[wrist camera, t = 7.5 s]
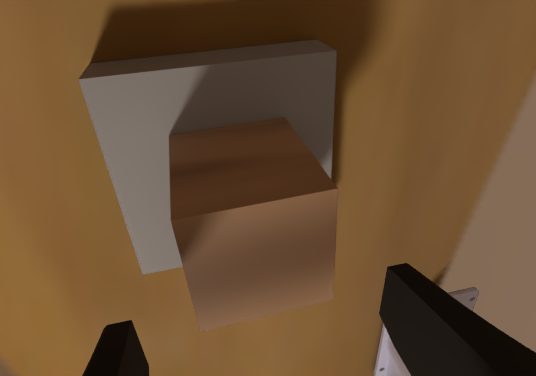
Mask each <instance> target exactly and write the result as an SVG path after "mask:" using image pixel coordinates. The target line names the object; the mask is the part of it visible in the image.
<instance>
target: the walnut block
mask: <svg viewBox="0 0 536 376" xmlns="http://www.w3.org/2000/svg"><path fill="white" fill-rule="evenodd" d="M169 170H170V213H171V224H172V228H173V231H174V235H175V239H176V243H177V246H178V250H179V254H180V258H181V261H182V265H183V269H184V273H185V276H186V280H187V284H188V288H189V291H190V295H191V299H192V303H193V306H194V310H195V314H196V318H197V321H198V325H199V329H200V332H203V331H207V330H212V329H216V328H220V327H224V326H228V325H232V324H236V323H240V322H245V321H249V320H253V319H257V318H261V317H265V316H269V315H274V314H278V313H282V312H286V311H290V310H294V309H298V308H302V307H307V306H311V305H315V304H319V303H323V302H327V301H331V300H334V276H335V251H336V225H337V200H338V188H337V187H336V185H335V184H334V183H333V181H332V180H331V178H330V177H329V176H328V174H327V173H326V172H325V170H324V169H323V168H322V166H321V165H320V164H319V162H318V161H317V160H316V158H315V157H314V156H313V154H312V153H311V152H310V150H309V149H308V148H307V146H306V145H305V144H304V142H303V141H302V139H301V138H300V137H299V135H298V134H297V133H296V131H295V130H294V129H293V127H292V126H291V125H290V123H289V122H288V121H287V119H286V118H285V117H284V118H277V119H271V120H264V121H258V122H252V123H245V124H239V125H233V126H226V127H220V128H213V129H207V130H201V131H194V132H188V133H182V134H175V135H169Z"/></svg>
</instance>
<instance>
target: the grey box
mask: <svg viewBox="0 0 536 376" xmlns="http://www.w3.org/2000/svg"><path fill="white" fill-rule="evenodd" d="M336 61H337V50H335V49H333V48H332V47H330V46H328V45H326V44H325V43H323V42H321V41H319V40H318V39H316V40H306V41H297V42H287V43H278V44H268V45H259V46H249V47H240V48H231V49H221V50H212V51H202V52H193V53H183V54H174V55H164V56H155V57H145V58H136V59H126V60H117V61H108V62H98V63H90V64H89V65H88V67H87V68H86V69H85V71H84V72H83V74H82V75H81V76H80V78H79V79H78V80H79V83H80V86H81V89H82V92H83V95H84V98H85V101H86V104H87V107H88V110H89V113H90V116H91V119H92V122H93V125H94V128H95V131H96V134H97V137H98V140H99V144H100V147H101V150H102V153H103V156H104V159H105V162H106V165H107V168H108V171H109V174H110V177H111V180H112V183H113V186H114V189H115V192H116V195H117V198H118V201H119V204H120V207H121V210H122V213H123V216H124V219H125V222H126V225H127V228H128V231H129V234H130V237H131V241H132V244H133V247H134V250H135V253H136V256H137V259H138V262H139V265H140V268H141V271H142V274H148V273H153V272H158V271H163V270H169V269H174V268H179V267H183V265H182V261H181V258H180V254H179V250H178V246H177V243H176V239H175V235H174V231H173V228H172V224H171V213H170V170H169V135H175V134H182V133H188V132H194V131H201V130H207V129H213V128H220V127H226V126H233V125H239V124H245V123H252V122H258V121H264V120H271V119H277V118H284V117H285V118H286V119H287V121H288V122H289V123H290V125H291V126H292V127H293V129H294V130H295V131H296V133H297V134H298V135H299V137H300V138H301V139H302V141H303V142H304V144H305V145H306V146H307V148H308V149H309V150H310V152H311V153H312V154H313V156H314V157H315V158H316V160H317V161H318V162H319V164H320V165H321V166H322V168H323V169H324V170H325V172H326V173H327V174H328V176H329V177H330V178H331V171H332V149H333V127H334V105H335V83H336Z"/></svg>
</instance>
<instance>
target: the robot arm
mask: <svg viewBox="0 0 536 376" xmlns="http://www.w3.org/2000/svg"><path fill="white" fill-rule="evenodd" d="M478 294H479V291H478V290H477V289H476V288H475V287H472V288H468V289H463V290H459V291H455V292H450V293H447V292H445V291H444V290H443V289H441V288H440V287H438V286H437V285H436V284H434V283H433V282H432V281H430V280H429V279H428V278H426V277H425V276H424V275H422V274H421V273H420V272H418V271H417V270H416V269H414V268H413V267H412V266H410V265H409V264H407V263H404V264H399V265H394V266H389V267H387V272H386V278H385V284H384V289H383V295H382V301H381V306H380V312H379V314H380V316H381V319H382V321H383V328H382V333H381V338H380V344H379V349H378V354H377V359H376V365H375V370H374V376H536V353H535V352H534V351H532V350H530V349H529V348H527V347H525V346H524V345H522V344H521V343H519V342H518V341H516V340H515V339H513V338H511V337H510V336H508V335H507V334H505V333H504V332H502V331H501V330H499V329H497V328H496V327H495V326H493V325H492V324H490V323H489V322H487V321H486V320H484V319H483V318H481V317H480V316H478V315H477V314H476V313H474V312H473V311H472V310H473V307H474V305H475V302H476V300H477V297H478ZM82 376H149V365H148V363H147V360H146V357H145V355H144V352H143V349H142V347H141V344H140V341H139V339H138V336H137V333H136V331H135V328H134V325H133V323H132V320H129V321H125V322H120V323H115V324H110V325H107V326H106V327H105V328H104V330H103V332H102V334H101V337H100V339H99V341H98V343H97V346H96V348H95V350H94V352H93V354H92V357H91V359H90V361H89V363H88V365H87V367H86V369H85V371H84V373H83V375H82Z"/></svg>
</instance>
